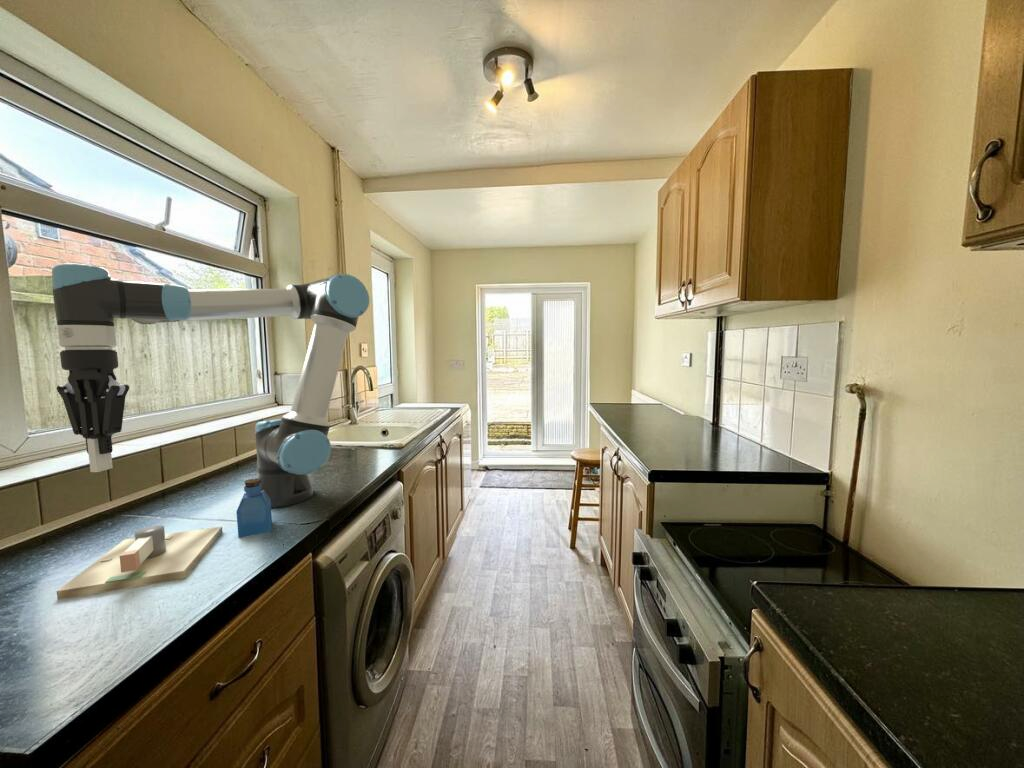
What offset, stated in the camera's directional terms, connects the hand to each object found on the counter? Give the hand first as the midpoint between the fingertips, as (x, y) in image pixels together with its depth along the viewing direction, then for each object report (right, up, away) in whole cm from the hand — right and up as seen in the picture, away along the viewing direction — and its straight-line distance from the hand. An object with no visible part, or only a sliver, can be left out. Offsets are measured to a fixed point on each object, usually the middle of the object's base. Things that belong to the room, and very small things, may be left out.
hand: (101, 469), depth 78 cm
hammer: (+9, -18, -1) cm, 20 cm away
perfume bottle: (+19, -18, +17) cm, 31 cm away
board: (+7, -19, +3) cm, 21 cm away
